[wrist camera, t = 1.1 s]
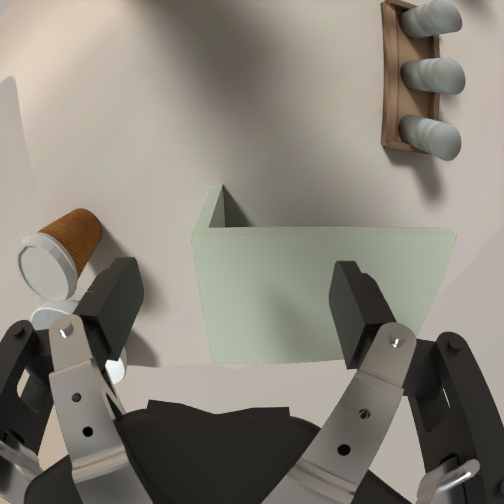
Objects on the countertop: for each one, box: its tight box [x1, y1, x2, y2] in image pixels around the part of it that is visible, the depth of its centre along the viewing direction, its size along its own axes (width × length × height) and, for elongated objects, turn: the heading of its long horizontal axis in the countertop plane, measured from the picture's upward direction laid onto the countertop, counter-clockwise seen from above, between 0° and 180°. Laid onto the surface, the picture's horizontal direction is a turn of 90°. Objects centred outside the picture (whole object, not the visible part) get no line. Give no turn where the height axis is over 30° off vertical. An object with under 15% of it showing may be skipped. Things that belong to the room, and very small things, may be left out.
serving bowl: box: [30, 299, 127, 384], centre depth 45 cm, size 21×21×7 cm
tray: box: [381, 0, 465, 161], centre depth 21 cm, size 19×7×9 cm, turn 1°
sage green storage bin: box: [191, 184, 457, 364], centre depth 32 cm, size 16×24×14 cm, turn 91°
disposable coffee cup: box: [16, 209, 102, 303], centre depth 31 cm, size 10×10×12 cm
